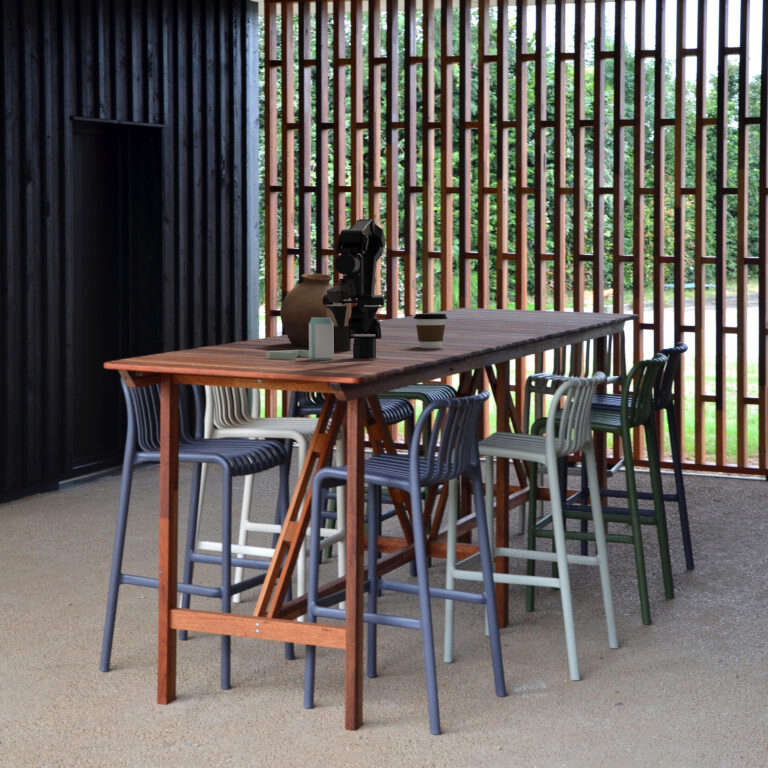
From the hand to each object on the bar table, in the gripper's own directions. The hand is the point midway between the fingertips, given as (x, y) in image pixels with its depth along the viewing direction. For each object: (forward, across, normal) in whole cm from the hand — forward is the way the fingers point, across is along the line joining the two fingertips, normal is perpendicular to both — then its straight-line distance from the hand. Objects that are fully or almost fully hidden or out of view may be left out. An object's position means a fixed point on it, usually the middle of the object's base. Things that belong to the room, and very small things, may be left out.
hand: (353, 331), depth 352 cm
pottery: (+9, -50, +35) cm, 61 cm away
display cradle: (+8, -22, 0) cm, 24 cm away
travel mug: (+9, -32, +28) cm, 44 cm away
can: (+9, -12, 0) cm, 15 cm away
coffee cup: (+9, -19, +57) cm, 61 cm away
